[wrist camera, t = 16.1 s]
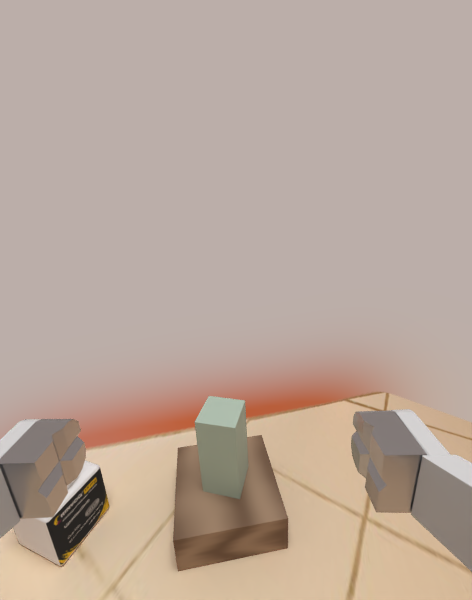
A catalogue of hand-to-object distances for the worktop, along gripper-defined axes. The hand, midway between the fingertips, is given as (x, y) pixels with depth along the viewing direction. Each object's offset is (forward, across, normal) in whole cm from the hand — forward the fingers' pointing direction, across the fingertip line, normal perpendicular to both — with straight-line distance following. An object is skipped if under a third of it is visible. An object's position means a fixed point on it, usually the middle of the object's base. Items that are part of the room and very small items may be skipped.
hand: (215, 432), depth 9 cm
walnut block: (+20, +2, +30) cm, 37 cm away
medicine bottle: (+18, +22, +30) cm, 41 cm away
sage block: (+20, +2, +25) cm, 32 cm away
